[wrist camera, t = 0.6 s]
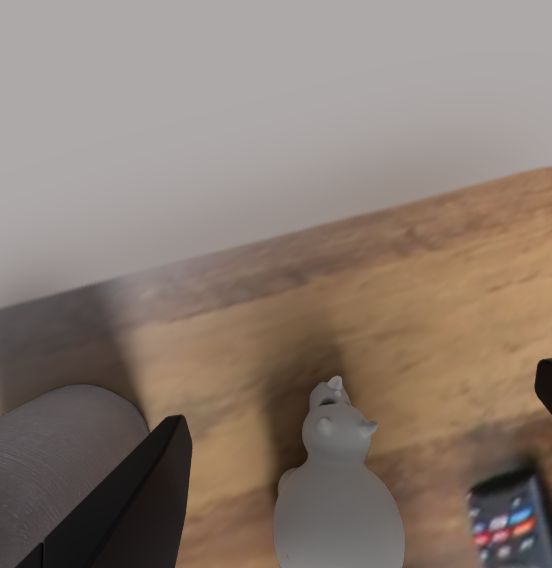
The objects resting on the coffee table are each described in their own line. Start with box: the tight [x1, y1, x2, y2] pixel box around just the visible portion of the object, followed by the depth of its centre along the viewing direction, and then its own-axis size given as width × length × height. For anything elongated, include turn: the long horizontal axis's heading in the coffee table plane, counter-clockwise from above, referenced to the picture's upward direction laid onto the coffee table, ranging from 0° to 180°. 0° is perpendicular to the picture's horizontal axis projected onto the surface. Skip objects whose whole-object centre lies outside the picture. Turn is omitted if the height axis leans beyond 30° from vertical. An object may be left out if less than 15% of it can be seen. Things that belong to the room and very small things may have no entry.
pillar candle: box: [0, 384, 149, 568], centre depth 16 cm, size 10×10×15 cm
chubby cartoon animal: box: [273, 376, 405, 568], centre depth 20 cm, size 7×12×8 cm, turn 172°
